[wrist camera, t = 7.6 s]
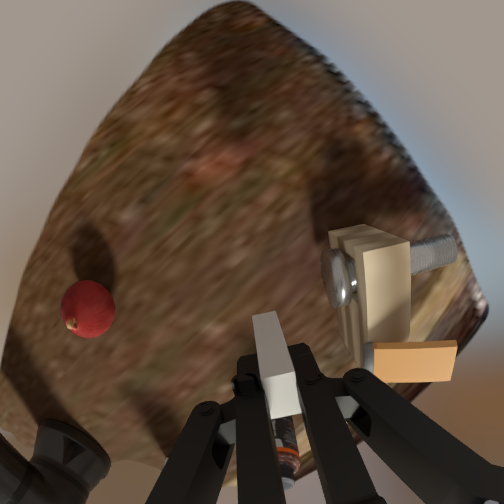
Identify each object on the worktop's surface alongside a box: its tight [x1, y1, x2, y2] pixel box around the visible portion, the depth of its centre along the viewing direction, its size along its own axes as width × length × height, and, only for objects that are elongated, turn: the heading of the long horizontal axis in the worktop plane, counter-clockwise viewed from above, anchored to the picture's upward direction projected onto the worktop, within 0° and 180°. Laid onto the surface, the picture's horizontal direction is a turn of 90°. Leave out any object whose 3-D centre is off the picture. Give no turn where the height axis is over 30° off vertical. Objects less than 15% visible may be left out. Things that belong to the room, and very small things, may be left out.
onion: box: [61, 280, 115, 338], centre depth 25 cm, size 6×6×8 cm
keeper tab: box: [363, 340, 457, 382], centre depth 19 cm, size 8×4×1 cm, turn 102°
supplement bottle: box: [271, 415, 300, 491], centre depth 28 cm, size 6×6×11 cm
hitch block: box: [328, 224, 411, 368], centre depth 25 cm, size 4×12×9 cm, turn 11°
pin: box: [320, 234, 458, 308], centre depth 24 cm, size 13×5×5 cm, turn 101°
